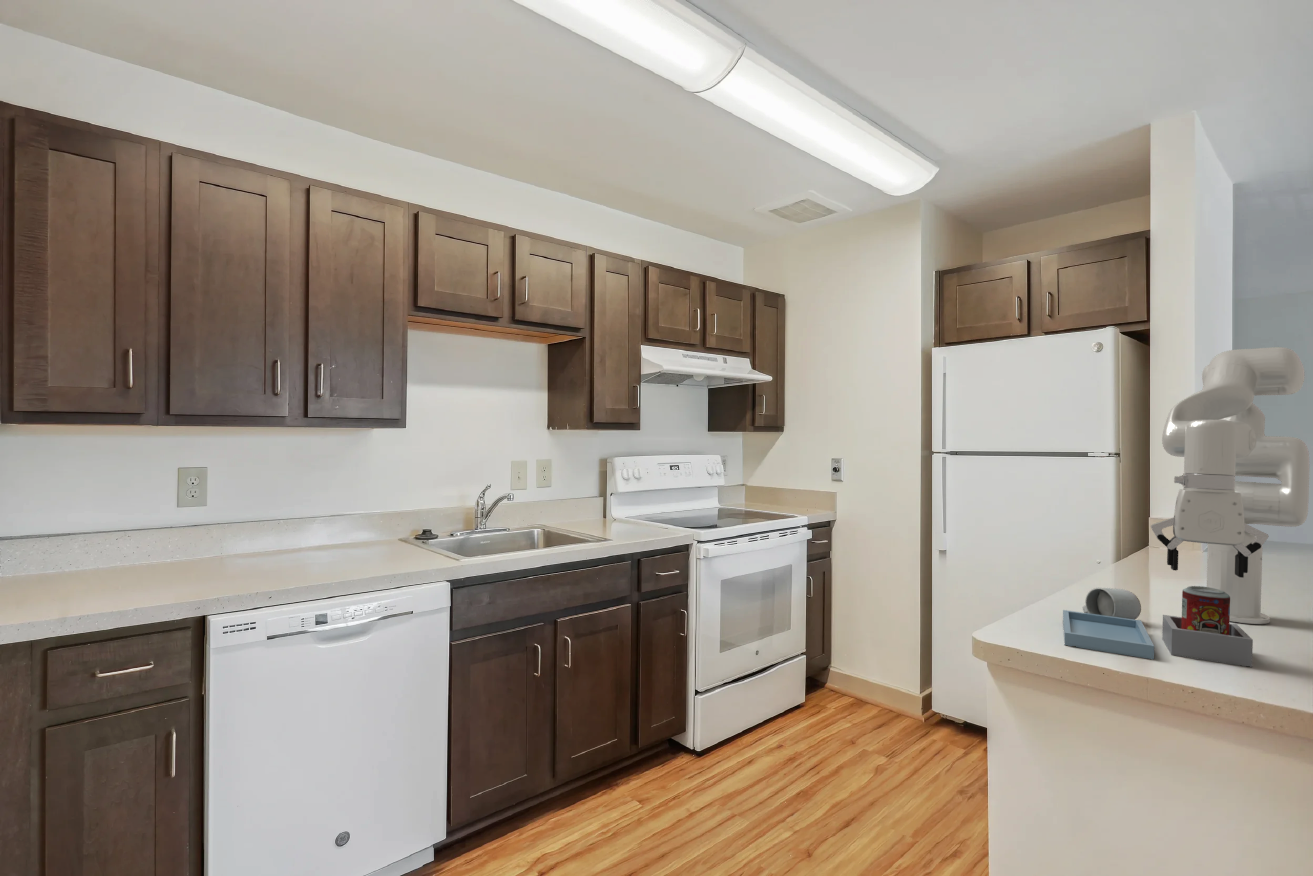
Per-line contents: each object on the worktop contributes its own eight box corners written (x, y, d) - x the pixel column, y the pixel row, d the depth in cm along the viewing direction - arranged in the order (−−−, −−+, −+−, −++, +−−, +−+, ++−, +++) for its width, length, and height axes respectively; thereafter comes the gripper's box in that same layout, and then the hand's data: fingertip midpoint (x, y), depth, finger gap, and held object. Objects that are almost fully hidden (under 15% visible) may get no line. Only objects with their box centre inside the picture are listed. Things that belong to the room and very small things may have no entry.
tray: (1062, 621, 144) (1063, 610, 144) (1140, 632, 137) (1140, 620, 137) (1064, 645, 127) (1064, 632, 127) (1153, 659, 120) (1154, 646, 120)
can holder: (1162, 639, 133) (1162, 614, 132) (1236, 649, 127) (1236, 624, 127) (1171, 654, 123) (1172, 628, 123) (1252, 667, 117) (1252, 639, 117)
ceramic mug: (1144, 625, 142) (1144, 590, 142) (1114, 627, 140) (1115, 591, 140) (1100, 613, 153) (1100, 580, 153) (1072, 614, 150) (1072, 581, 151)
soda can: (1190, 656, 122) (1192, 591, 122) (1174, 644, 129) (1175, 583, 129) (1236, 661, 120) (1238, 595, 120) (1217, 649, 127) (1218, 586, 127)
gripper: (1155, 481, 126) (1152, 569, 125) (1275, 487, 117) (1272, 582, 116) (1149, 480, 132) (1147, 564, 132) (1263, 486, 123) (1260, 576, 123)
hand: (1205, 572), depth 124 cm, fingers open, 9 cm apart
